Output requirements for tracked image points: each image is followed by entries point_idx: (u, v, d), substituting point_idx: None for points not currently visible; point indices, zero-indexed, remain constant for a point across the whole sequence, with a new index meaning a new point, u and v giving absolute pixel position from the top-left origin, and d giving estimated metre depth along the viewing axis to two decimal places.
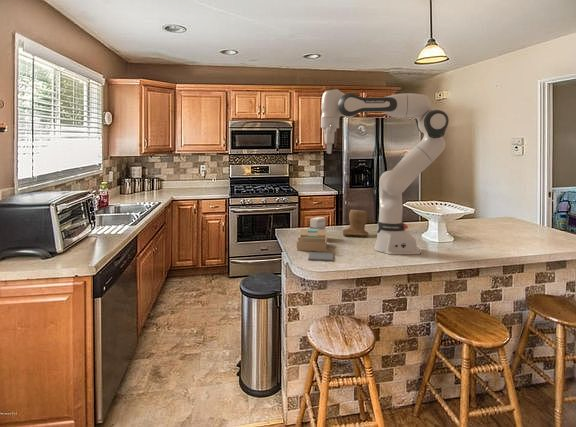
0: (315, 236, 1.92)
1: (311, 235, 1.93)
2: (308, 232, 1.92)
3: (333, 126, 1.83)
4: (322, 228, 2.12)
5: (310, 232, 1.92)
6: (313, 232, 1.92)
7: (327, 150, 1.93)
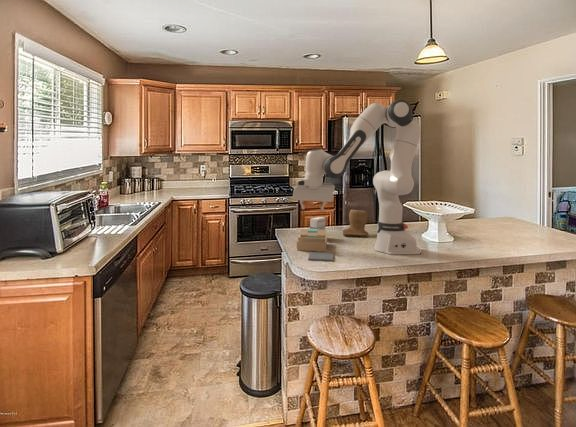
0: (315, 236, 1.92)
1: (311, 235, 1.93)
2: (308, 232, 1.92)
3: None
4: (322, 228, 2.12)
5: (310, 232, 1.92)
6: (313, 232, 1.92)
7: (304, 206, 1.93)
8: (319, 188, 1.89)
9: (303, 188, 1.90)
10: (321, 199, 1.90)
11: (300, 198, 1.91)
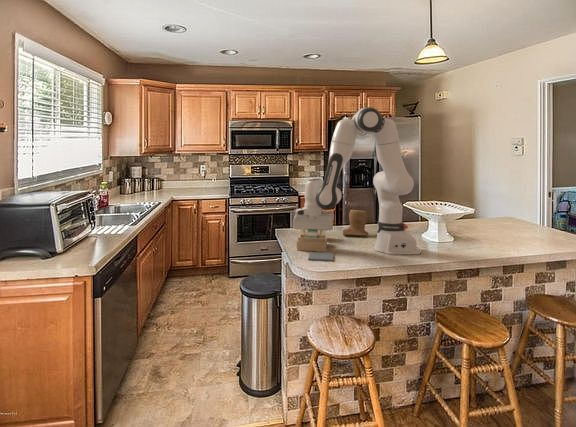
0: (315, 236, 1.92)
1: (311, 235, 1.93)
2: (308, 232, 1.92)
3: None
4: None
5: (310, 232, 1.92)
6: (313, 232, 1.92)
7: None
8: (318, 217, 1.92)
9: (303, 217, 1.92)
10: (321, 228, 1.93)
11: (300, 227, 1.94)
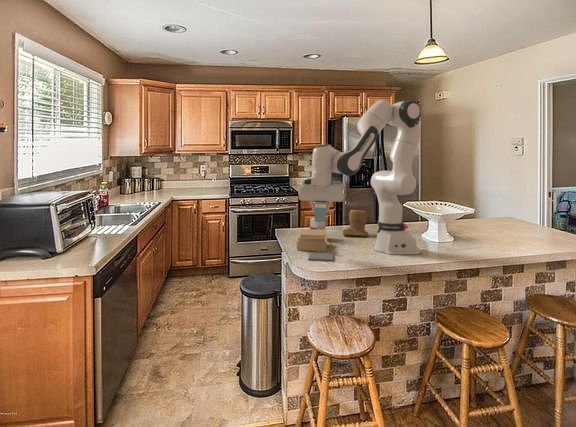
0: (323, 208, 1.75)
1: (319, 207, 1.75)
2: (316, 203, 1.75)
3: None
4: (322, 228, 2.12)
5: (318, 203, 1.75)
6: (321, 203, 1.74)
7: None
8: (327, 187, 1.74)
9: (310, 187, 1.74)
10: (330, 199, 1.75)
11: (307, 198, 1.76)
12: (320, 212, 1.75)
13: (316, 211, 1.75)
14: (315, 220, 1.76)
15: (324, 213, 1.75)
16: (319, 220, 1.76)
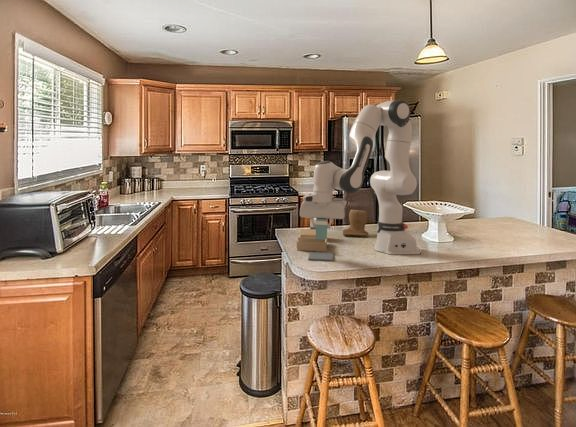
0: (325, 225, 1.73)
1: (320, 224, 1.73)
2: (317, 221, 1.73)
3: None
4: None
5: (319, 221, 1.73)
6: (322, 221, 1.72)
7: None
8: (329, 204, 1.72)
9: (311, 204, 1.73)
10: (331, 216, 1.73)
11: (308, 215, 1.74)
12: (321, 229, 1.73)
13: (317, 229, 1.73)
14: (316, 237, 1.74)
15: (325, 230, 1.73)
16: (320, 237, 1.74)
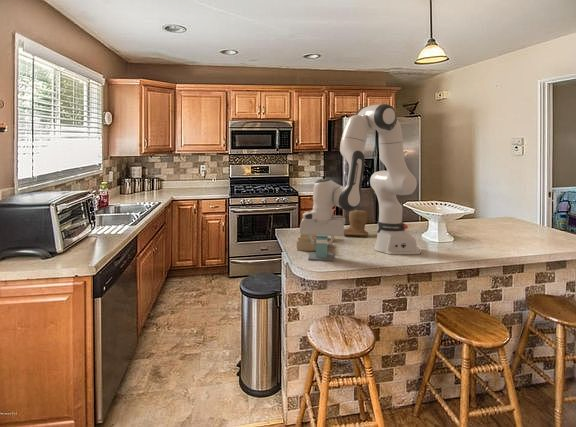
0: (325, 244, 1.74)
1: (320, 243, 1.74)
2: (317, 239, 1.74)
3: None
4: None
5: (319, 239, 1.74)
6: (323, 239, 1.74)
7: (314, 241, 1.77)
8: (328, 221, 1.73)
9: (311, 222, 1.74)
10: (331, 233, 1.74)
11: (308, 232, 1.75)
12: (321, 248, 1.75)
13: (317, 247, 1.75)
14: (316, 256, 1.75)
15: (325, 249, 1.74)
16: (320, 256, 1.75)
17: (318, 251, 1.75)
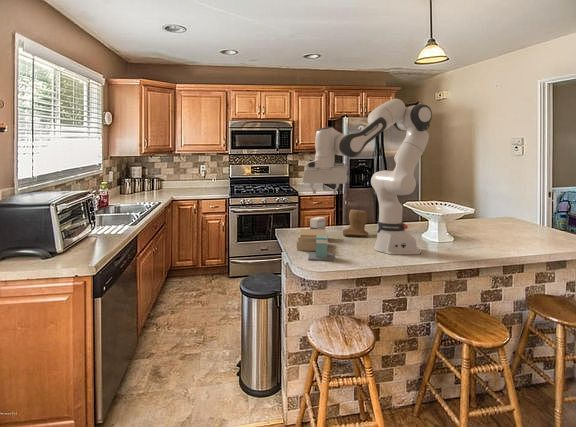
0: (325, 244, 1.74)
1: (320, 243, 1.74)
2: (317, 239, 1.74)
3: None
4: (322, 228, 2.12)
5: (319, 239, 1.74)
6: (323, 239, 1.74)
7: (315, 190, 1.79)
8: (331, 169, 1.76)
9: (314, 170, 1.76)
10: (333, 181, 1.76)
11: (311, 181, 1.77)
12: (321, 248, 1.75)
13: (317, 247, 1.75)
14: (316, 256, 1.75)
15: (325, 249, 1.74)
16: (320, 256, 1.75)
17: (318, 251, 1.75)
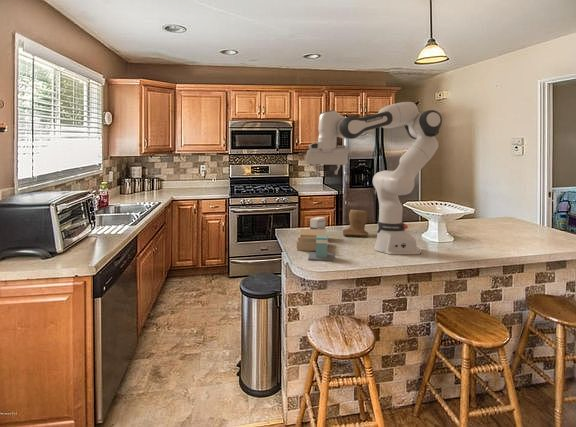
0: (325, 244, 1.74)
1: (320, 243, 1.74)
2: (317, 239, 1.74)
3: None
4: (322, 228, 2.12)
5: (319, 239, 1.74)
6: (323, 239, 1.74)
7: None
8: (333, 151, 1.85)
9: (316, 151, 1.85)
10: (335, 162, 1.85)
11: (313, 162, 1.87)
12: (321, 248, 1.75)
13: (317, 247, 1.75)
14: (316, 256, 1.75)
15: (325, 249, 1.74)
16: (320, 256, 1.75)
17: (318, 251, 1.75)
